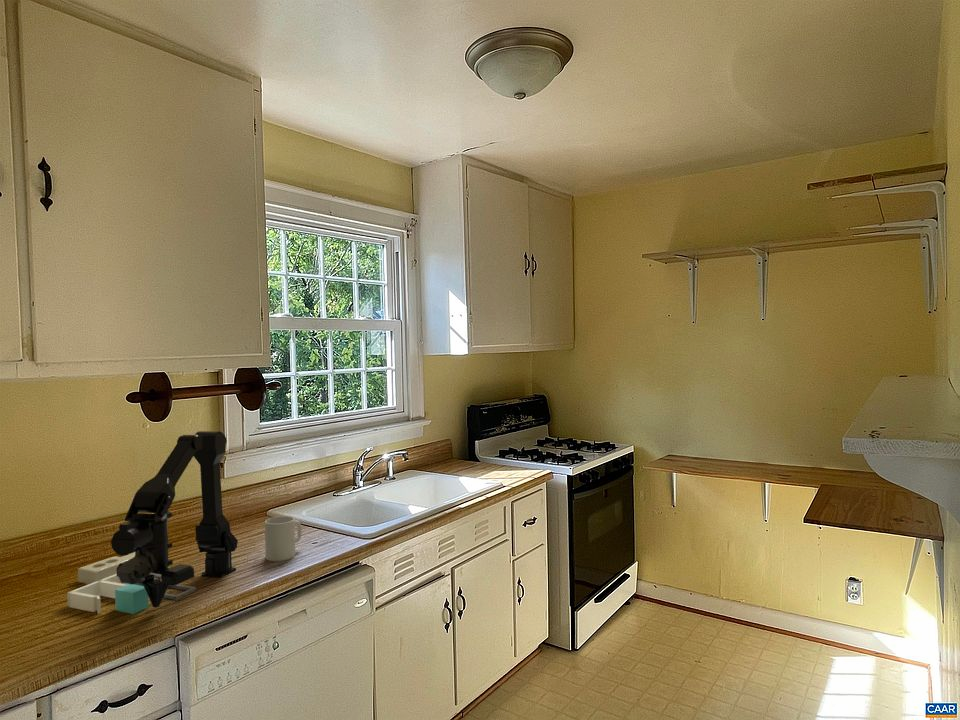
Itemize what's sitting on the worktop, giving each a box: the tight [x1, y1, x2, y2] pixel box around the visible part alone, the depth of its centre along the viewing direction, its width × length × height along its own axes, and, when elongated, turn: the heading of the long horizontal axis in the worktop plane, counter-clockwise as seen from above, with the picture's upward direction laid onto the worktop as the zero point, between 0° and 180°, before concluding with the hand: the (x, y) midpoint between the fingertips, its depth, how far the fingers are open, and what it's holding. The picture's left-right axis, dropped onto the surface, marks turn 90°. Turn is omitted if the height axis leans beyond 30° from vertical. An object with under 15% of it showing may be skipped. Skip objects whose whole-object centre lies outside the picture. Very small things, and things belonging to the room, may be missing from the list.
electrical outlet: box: [77, 552, 135, 585], centre depth 172 cm, size 7×4×18 cm
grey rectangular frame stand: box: [163, 584, 197, 601], centre depth 157 cm, size 10×6×3 cm, turn 68°
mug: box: [264, 515, 303, 562], centre depth 184 cm, size 12×8×11 cm
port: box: [66, 574, 143, 615], centre depth 154 cm, size 11×16×4 cm
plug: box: [114, 584, 149, 615], centre depth 148 cm, size 7×4×5 cm, turn 68°
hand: (156, 606), depth 145 cm, fingers closed
